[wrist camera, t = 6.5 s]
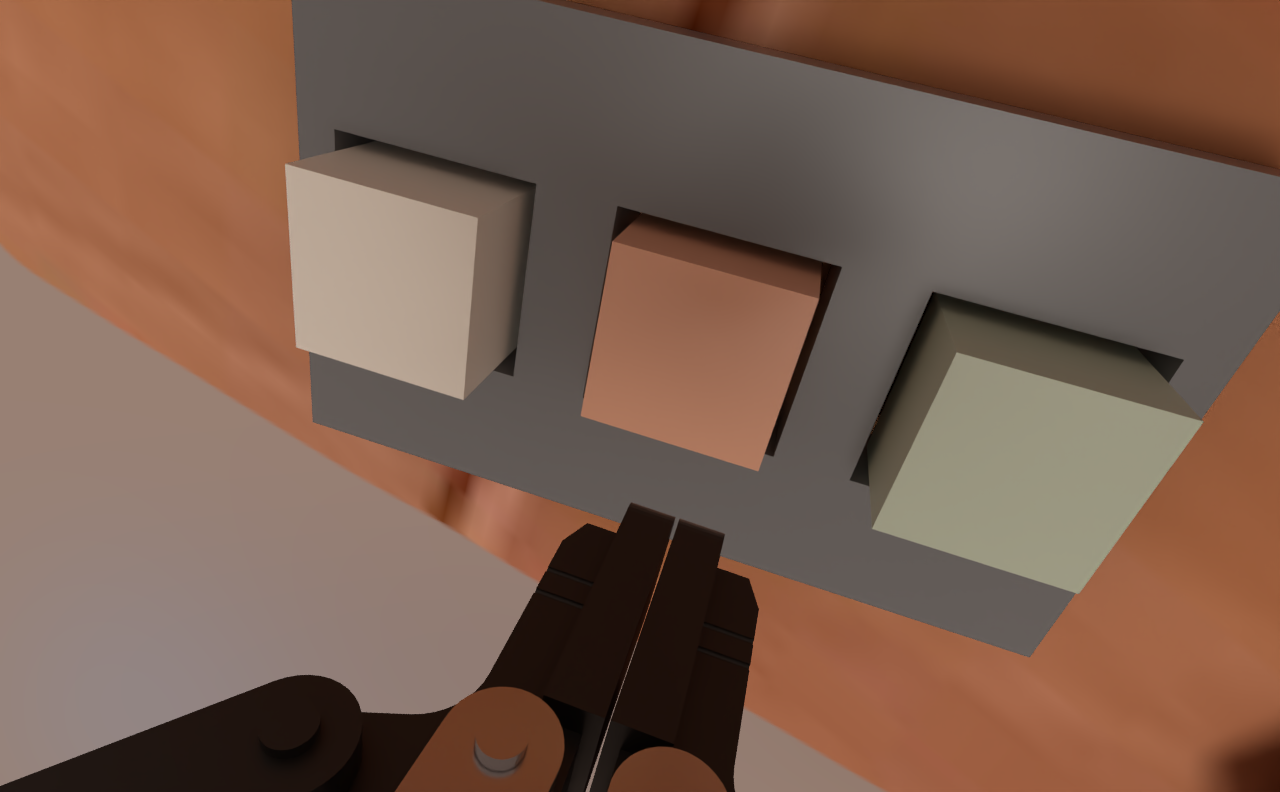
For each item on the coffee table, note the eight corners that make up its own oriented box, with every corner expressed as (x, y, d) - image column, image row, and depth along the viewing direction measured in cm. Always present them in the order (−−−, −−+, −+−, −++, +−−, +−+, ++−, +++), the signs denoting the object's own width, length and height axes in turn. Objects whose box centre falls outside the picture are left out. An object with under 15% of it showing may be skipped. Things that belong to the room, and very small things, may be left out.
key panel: (361, -49, 19) (288, -59, 17) (1280, 169, 17) (1362, 196, 14) (364, 383, 26) (312, 422, 24) (1008, 588, 24) (1029, 657, 21)
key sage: (934, 290, 18) (956, 352, 15) (1133, 344, 18) (1203, 421, 14) (867, 445, 21) (871, 528, 17) (1038, 497, 20) (1078, 594, 17)
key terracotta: (651, 204, 20) (612, 241, 17) (823, 250, 19) (819, 298, 16) (620, 356, 23) (580, 416, 19) (771, 401, 22) (758, 471, 19)
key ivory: (379, 139, 20) (284, 163, 17) (541, 184, 20) (478, 217, 16) (378, 298, 23) (296, 347, 19) (521, 341, 22) (463, 400, 19)
